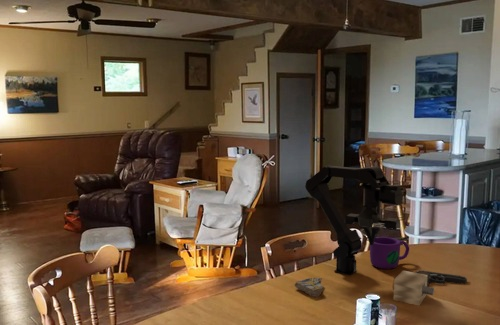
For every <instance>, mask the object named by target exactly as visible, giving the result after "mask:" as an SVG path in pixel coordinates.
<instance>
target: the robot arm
mask: <svg viewBox="0 0 500 325" xmlns="http://www.w3.org/2000/svg"><path fill="white" fill-rule="evenodd" d="M333 177H335V178H343V179H352V180H353V179H354V180H357V181H358V182H360V183H361V185H358V189H360V190H363V205H362V209H361V211H360V213H357V214H356V213H349V214H347V215H345V217H344V218H343V217H342V215H341V213H340V211H339V210H338V207H337V206H336V204H335V203H334V201H333V199H332V197H331V195H330V186H329V185H328V184H329V183H330V182H331V181H332V178H333ZM304 187H305V190H306V191H307V193H308V195H309V196H311V198H313V199H314V200H316V201H317V202H318V203H319V205H320V207H321V209H322V211H323V212H324V214H325V216H326V217H327V220H328V221H329V222H330V225H331V226H332V228H333V230H334V232H335V235H336V243H337V244H338V247H336V248H335V249H334V250H333V256H334V258H336V262H335V263H336V264H335V267H336V268H335V269H334V273H338V274H344V275H350V276H351V275H353V274H354V273H355V272H356V271H357V259H356V255H358V253H359V251H360V250H361V248H362V246H363V242H362V239H363V238H362V237H361V236H360V235H359V233H358V231H357V229H353V230H352V229H351V228H349V226H348V225H354V224H355V223H358V225H359V228H361V229H362V230H364V233H365V234H366V236H367V237H366V238H367V240H368V243H369V246H370V245H373V244H374V241H375V239H376V237H378V236H377V235H378V234H379V232H380V230H382V229H383V228H385V229H386V230H393V231H394V230H398V229H399V228H400V227H401V220H400V218H396V217H395V218H393V217H388V218H386V219H382V215H381V207H382V204H383V205H390V206H391V205H392V206H398V207H399V206H400V205H402V203H403V199H404V194H403V192H402V190H401V185H398V184H396V185H391V184H390V182H389V180H388V179H387V178H386V176H385V174H384V171H383V168H382V167H380V166H378V165H375V166H366V167H347V166H336V165H332V164H331V165H330V164H329V165H325V166H323V167H322V168H321V170H319V171H318V172H316V173H315V174H314V175H313V176H312V177H311V178H308V179H307V180H306V182H305V185H304Z"/></svg>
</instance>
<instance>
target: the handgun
mask: <svg viewBox="0 0 500 325" xmlns="http://www.w3.org/2000/svg"><path fill="white" fill-rule="evenodd" d="M415 273H419V274H424V275H427V287H430V286H429V284H431V283H433V284H440V285H441V284H442V285H443V284H445V283H451V284H466V283H467V282H468V277H465V276H462V275H456V274H451V273H450V274H449V273H443V272H442V273H441V272H435V271H428V270H418V271H415Z"/></svg>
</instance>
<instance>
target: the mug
mask: <svg viewBox="0 0 500 325" xmlns="http://www.w3.org/2000/svg"><path fill="white" fill-rule="evenodd" d="M401 245H403V246H404V248H405V251H404V253H403V255H401V256H400V254H401ZM409 253H410V246H409V244H408V243H407V242H406V241H405V240H398V239H397V238H393V237H389V236H388V237H387V236H376V239H375V241H374V244H373V245H370V244H369V258H370V263H371V265H372V266H373V267H375V268H377V267H378V269H382V270H383V269H384V270H391V269H395V268H397V266H398V265H399V262H400V261H401V260H404V259H405V258H407V257H408V255H409Z"/></svg>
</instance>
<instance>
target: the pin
mask: <svg viewBox="0 0 500 325" xmlns="http://www.w3.org/2000/svg"><path fill="white" fill-rule="evenodd" d="M396 277H397V276H395V277H394V278H393V282H392V290H393V292H394V279H395V278H396ZM422 293H423V294H427V295H429V296H434V293H435V287H433V286H429V287H427V286H422Z"/></svg>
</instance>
